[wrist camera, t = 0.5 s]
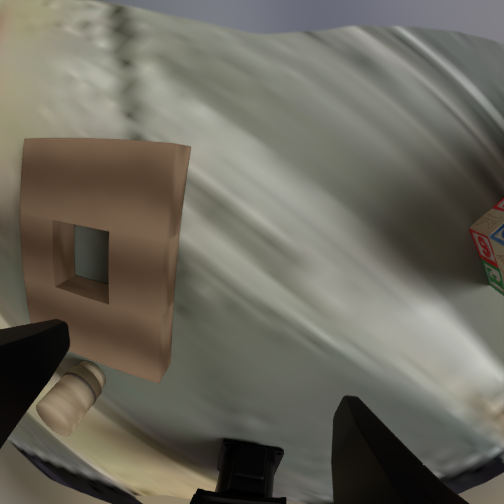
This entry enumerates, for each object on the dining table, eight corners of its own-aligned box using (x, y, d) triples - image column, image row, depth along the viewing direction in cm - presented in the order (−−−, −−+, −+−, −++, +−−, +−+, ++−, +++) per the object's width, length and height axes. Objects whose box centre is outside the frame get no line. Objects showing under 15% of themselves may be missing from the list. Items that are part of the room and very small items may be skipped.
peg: (110, 393, 28) (75, 442, 20) (80, 380, 28) (42, 424, 20) (106, 365, 26) (65, 415, 19) (74, 352, 27) (30, 396, 19)
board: (170, 362, 25) (159, 383, 22) (50, 320, 26) (33, 333, 23) (191, 146, 20) (176, 143, 17) (47, 139, 21) (24, 138, 18)
